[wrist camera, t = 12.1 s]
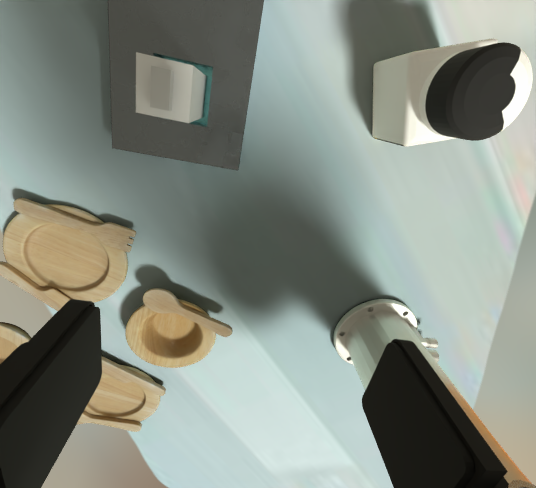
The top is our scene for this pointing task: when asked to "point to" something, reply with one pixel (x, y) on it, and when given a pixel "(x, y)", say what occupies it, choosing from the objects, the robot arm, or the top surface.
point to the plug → (169, 89)
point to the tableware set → (95, 289)
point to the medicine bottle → (450, 92)
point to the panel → (193, 53)
